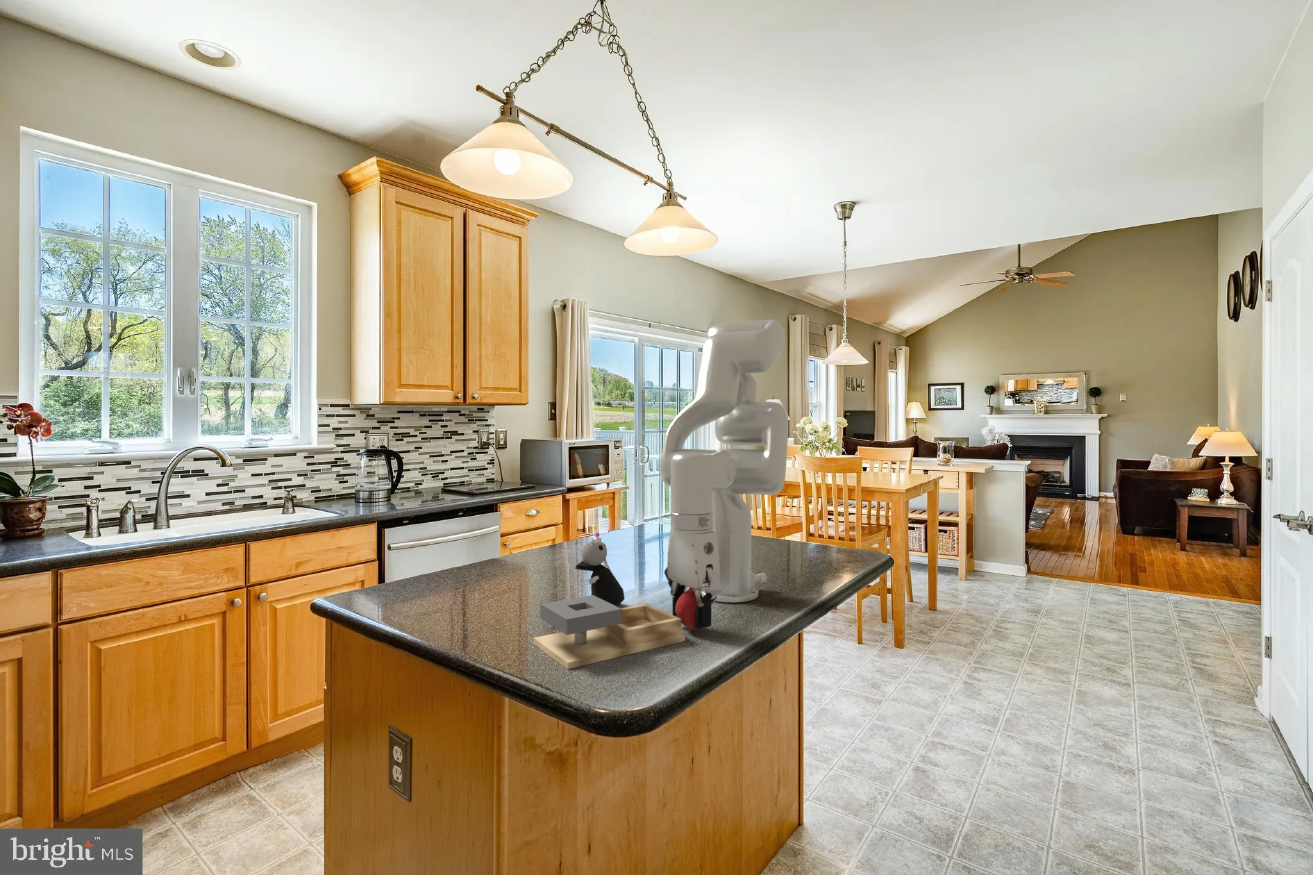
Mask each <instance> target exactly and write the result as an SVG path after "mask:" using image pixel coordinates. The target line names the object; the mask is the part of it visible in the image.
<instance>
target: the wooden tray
mask: <svg viewBox="0 0 1313 875" xmlns="http://www.w3.org/2000/svg"><path fill="white" fill-rule="evenodd" d="M621 609H622V624H618V625H613V626H608V627H603V628H598V629H593V630H589V631H584V632H579V633H574V634H569V635H566V634H564V633H563V632H561V631H559V632H556V633H552V634H550V633H549V634H546V635H545V634H544V635H541V636H536V637H532V642H533V643H532V644H533V645H534V646H535V647H536V648H538V649H539V650H541V651H543V652H544V653H545V654H547V655H548V656H549V658H550V657H551V659H553V660H555V661H556V662H557V663H559V664H560V665H562V667H564V668H565V669H567V670H570V669H574V668H577V667H582V666H586V665H591V664H594V663H598V662H603V661H608V660H611V659H616V658H620V657H624V656H628V655H632V654H636V653H640V652H644V651H648V650H653V649H658V648H662V647H665V646H669V645H670V646H671V645H674V644H678V643H682V642H686V641H685V640H686V635H685V634H683V633H682V623H681V619H680V618H678V617H676V616H673V615H672V614H671V613H668V612H666V611H664V610H662V609H659V608H657V607H656V606H652V605H650V604H648V603H643V604H638V605H632V606H626V607H621Z"/></svg>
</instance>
